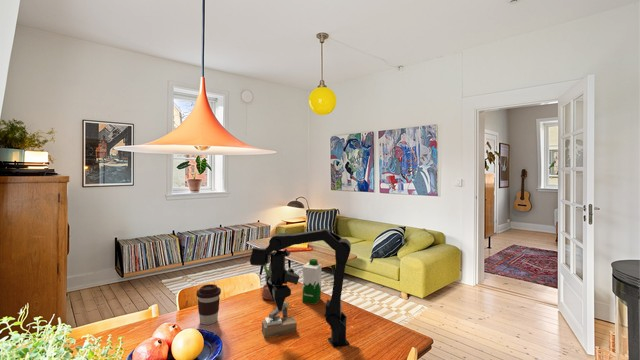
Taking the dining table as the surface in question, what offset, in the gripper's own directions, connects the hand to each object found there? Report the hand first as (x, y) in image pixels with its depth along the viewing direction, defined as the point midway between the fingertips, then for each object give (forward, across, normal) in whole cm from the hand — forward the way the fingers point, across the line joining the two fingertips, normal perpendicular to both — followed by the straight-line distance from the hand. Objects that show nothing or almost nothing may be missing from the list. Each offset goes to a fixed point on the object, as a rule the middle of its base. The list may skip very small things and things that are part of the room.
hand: (277, 305), depth 127 cm
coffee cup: (+13, +23, +25) cm, 36 cm away
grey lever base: (+13, +7, -2) cm, 15 cm away
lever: (+6, +9, -3) cm, 11 cm away
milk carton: (+13, +29, -24) cm, 40 cm away
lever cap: (+9, +4, 0) cm, 10 cm away
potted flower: (+13, +40, -7) cm, 43 cm away
